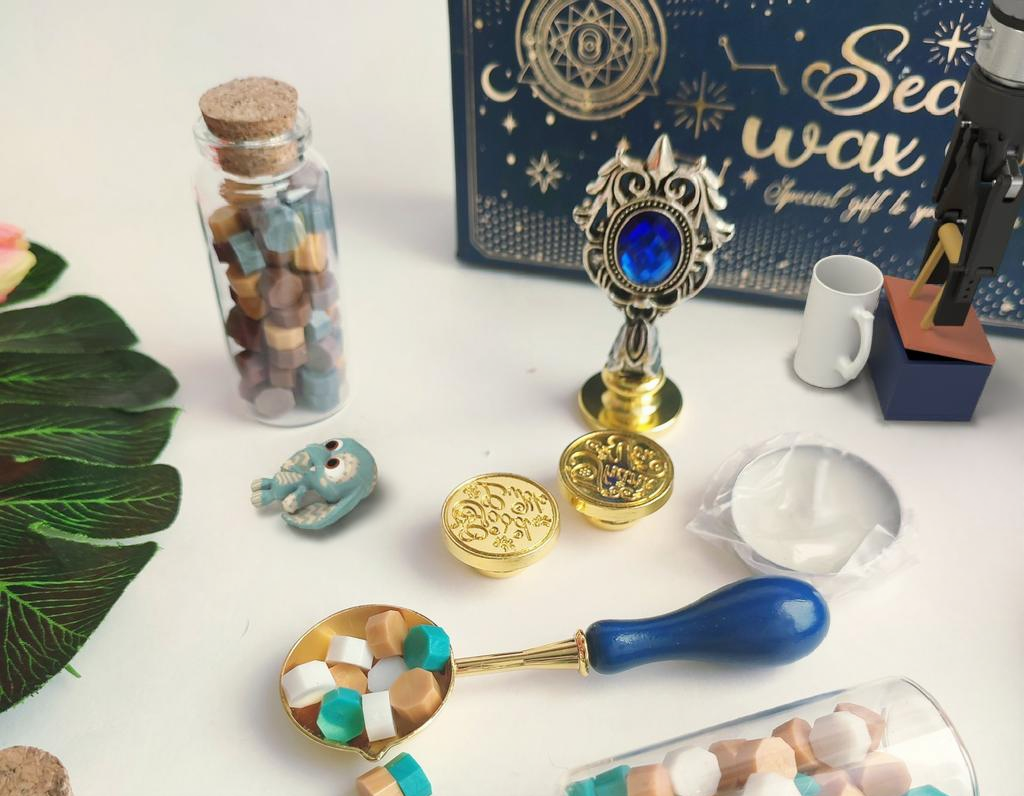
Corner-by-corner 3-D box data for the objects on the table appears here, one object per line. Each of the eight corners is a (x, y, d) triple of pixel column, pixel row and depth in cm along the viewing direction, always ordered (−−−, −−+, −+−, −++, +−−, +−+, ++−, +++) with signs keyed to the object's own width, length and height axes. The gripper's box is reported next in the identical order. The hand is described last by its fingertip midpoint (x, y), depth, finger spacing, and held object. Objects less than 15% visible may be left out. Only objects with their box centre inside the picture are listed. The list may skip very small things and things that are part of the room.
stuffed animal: (235, 424, 101) (359, 393, 100) (263, 476, 106) (380, 446, 105) (232, 507, 93) (366, 474, 93) (262, 558, 99) (389, 526, 98)
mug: (780, 354, 116) (802, 259, 107) (838, 345, 117) (865, 250, 108) (818, 415, 109) (845, 319, 101) (879, 405, 110) (911, 310, 102)
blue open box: (884, 420, 109) (903, 364, 104) (863, 351, 116) (880, 296, 111) (970, 421, 109) (993, 366, 103) (943, 352, 116) (964, 297, 111)
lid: (904, 348, 102) (952, 270, 96) (881, 280, 110) (923, 203, 103) (992, 365, 103) (1045, 289, 97) (963, 297, 111) (1010, 222, 104)
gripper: (944, 19, 94) (880, 246, 111) (1006, 125, 81) (923, 364, 98) (1030, 20, 94) (953, 247, 111) (1106, 126, 81) (1006, 365, 98)
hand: (939, 302), depth 105 cm, fingers closed on lid, 6 cm apart
